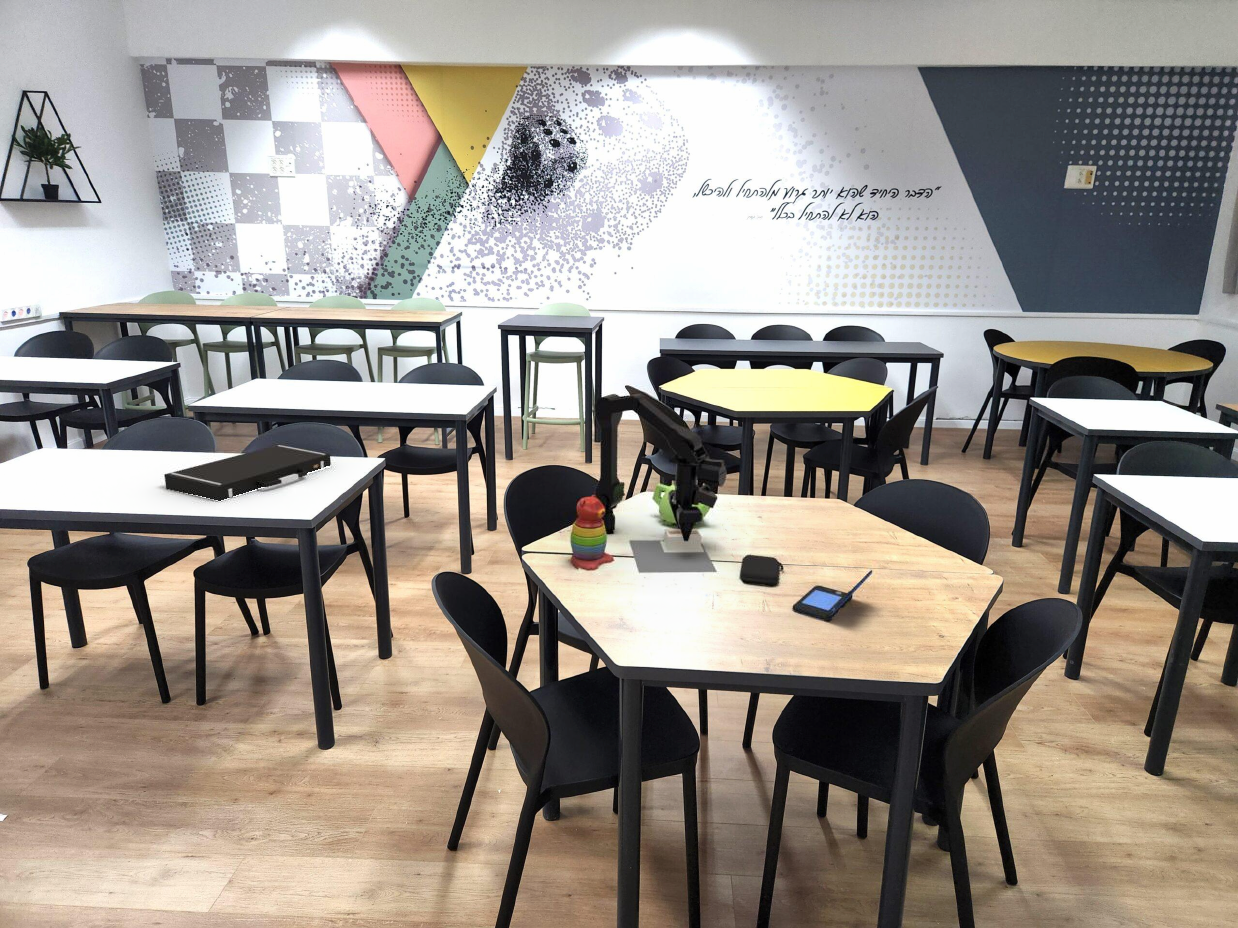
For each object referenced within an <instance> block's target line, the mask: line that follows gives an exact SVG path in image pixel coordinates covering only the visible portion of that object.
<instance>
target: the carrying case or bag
mask: <svg viewBox="0 0 1238 928" xmlns="http://www.w3.org/2000/svg"><path fill="white" fill-rule="evenodd" d="M780 569H781V570H780ZM780 571H784V565H783V564H782V562H780V561H779V560H778V559H777V558H776V557H773V556H766V555H765V556H764V555H755V554H746V555H745V556H744V557H743V558H742V560H741V566H740V572H739V579H740V580H741V581H742V582H743V583H745V584H749V585H750V584H751V585H757V586H758V585H759V586H768V587H774V586H776V585H777V584H778V583H780Z"/></svg>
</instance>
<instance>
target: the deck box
mask: <svg viewBox="0 0 1238 928" xmlns="http://www.w3.org/2000/svg"><path fill="white" fill-rule="evenodd" d="M663 538H664V539H663V540H664V543H665V546H666V548H667V550H668V551H701V543H702V536H701V533H700V532H699V529H697V528H693V529H692V531H691V534H690V537H689V540H688V541H684V539H683V536H682V533H681V530H680V529H678V528H665V529H664V537H663Z"/></svg>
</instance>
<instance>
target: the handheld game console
mask: <svg viewBox="0 0 1238 928" xmlns="http://www.w3.org/2000/svg"><path fill="white" fill-rule="evenodd" d="M872 574H873V570H872V569H871V570H870V571H868V572H867V573H866V574H865V575H864V576H863V578H862V579H860V581H859V582H858V583H856V584H855V586H853V588H851V590H848V592H846V591H842V590H838V589H833V588H830V587H827V586H823V585H815V586H813V587H812V588H811V589H809V591H807V592H806V593H805V594H804V595H803V596H802V597H801V598H799V599H798V601H796V602H795V603H794V604H793V605H792V611H793V612H794V613H797V614H801V615H804V616H806V617H807V616H808V617H810V618H814V619H816V620H820V621H823V622H826V623H830V622H832V620H833V619H834V618H835V617H836V615H838V613H839V611H840V610H841V609H844V608H845V607H846V605H848V603H849V602H851V600H853V594H854V593H855V592H856V591H857V590H858V589H859V588H860V587H861V586H862V585H863V583H864V582H866V580H868V578H869V577H871V575H872Z"/></svg>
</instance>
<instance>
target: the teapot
mask: <svg viewBox="0 0 1238 928" xmlns="http://www.w3.org/2000/svg"><path fill="white" fill-rule="evenodd" d="M671 490H675V486H674V483H673V484H672V485H670V486H669V485H665V484H662V483H657V484H656V486H655V488H654V490H653V496H652V497H651V498H652V500H653V501H654V503H655V504H656V505H657V507H658V513H659V516H660V517H661V519H662V520H664V521H665V522H664V525H667V526H673V525H674V524H676V521H675V518H674V515H673V512H672V509H671V507H670V504H669V500H668V493H669V492H670V491H671ZM662 491H663V492H664V494H663V495H662V493H663V492H662ZM715 495H716V496H717V497H718V495H717V494H715ZM692 506H697V507H698V508H699V509H700V510H701V512H702V514H703V516H702V520H703V519H704V518H705V517H706V515H707V514H708V512H709V511H710V509H711V508H710V507H709V506H706V505H703V504H701V503H699V505H692ZM697 524H698V523H696V524H695V525H697Z"/></svg>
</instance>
